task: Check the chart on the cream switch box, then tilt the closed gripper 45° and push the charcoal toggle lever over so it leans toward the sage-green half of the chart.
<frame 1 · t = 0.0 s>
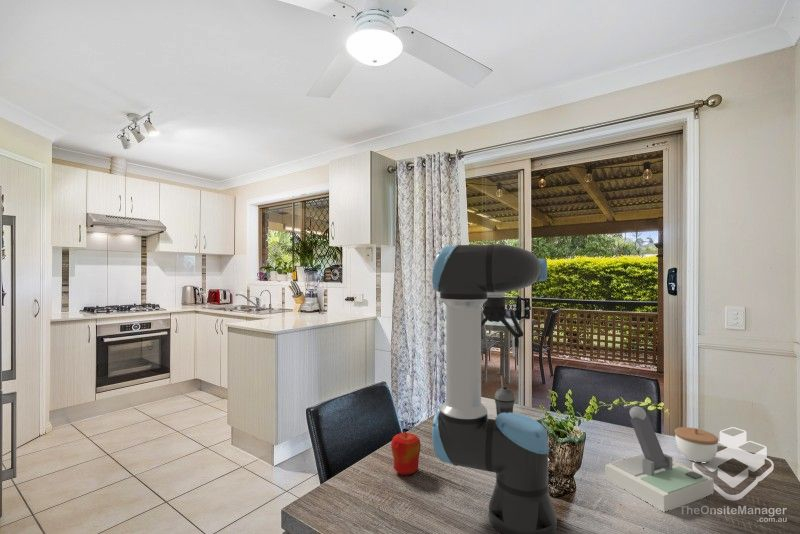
hand: (494, 354, 140), 28 cm above the table, tool pointing down, fingers open, 13 cm apart
beverage cup: (504, 431, 140), on the table
apple: (405, 472, 111), on the table
toggle lever: (646, 436, 106), point 12 cm above the table, hinge at -25.0°
switch box: (657, 486, 103), on the table
lidded jar: (696, 459, 119), on the table
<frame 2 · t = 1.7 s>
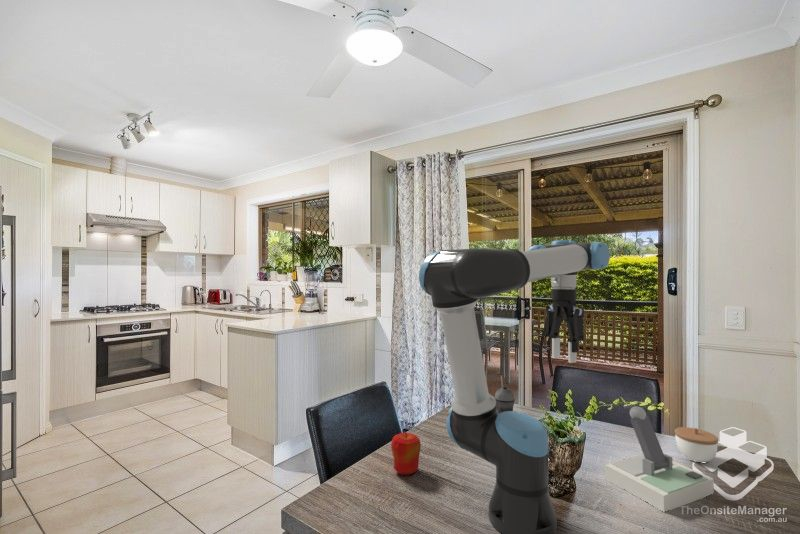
hand: (564, 359, 123), 30 cm above the table, tool pointing down, fingers open, 6 cm apart
nothing on the table moved.
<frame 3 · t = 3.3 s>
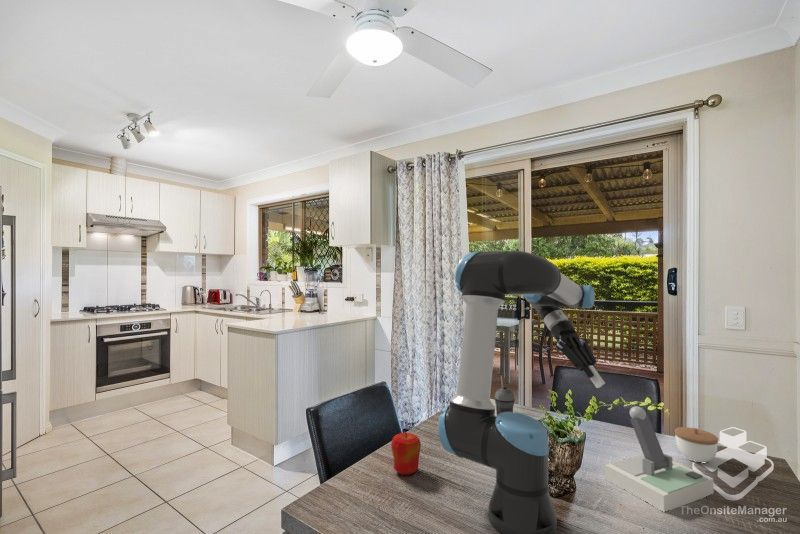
hand: (600, 385, 120), 22 cm above the table, tool tilted 45°, fingers closed
nothing on the table moved.
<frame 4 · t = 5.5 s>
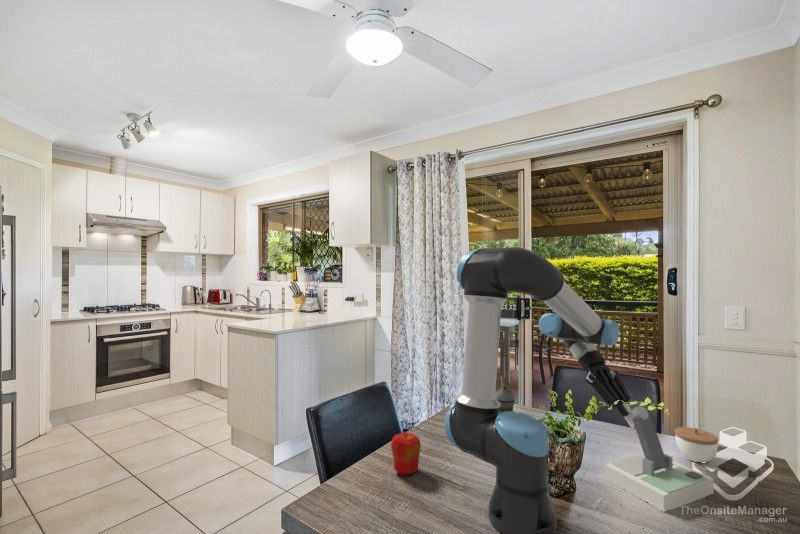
hand: (636, 426, 109), 14 cm above the table, tool tilted 45°, fingers closed
toggle lever: (648, 436, 106), point 12 cm above the table, hinge at -21.6°, touching gripper
everything else where it was.
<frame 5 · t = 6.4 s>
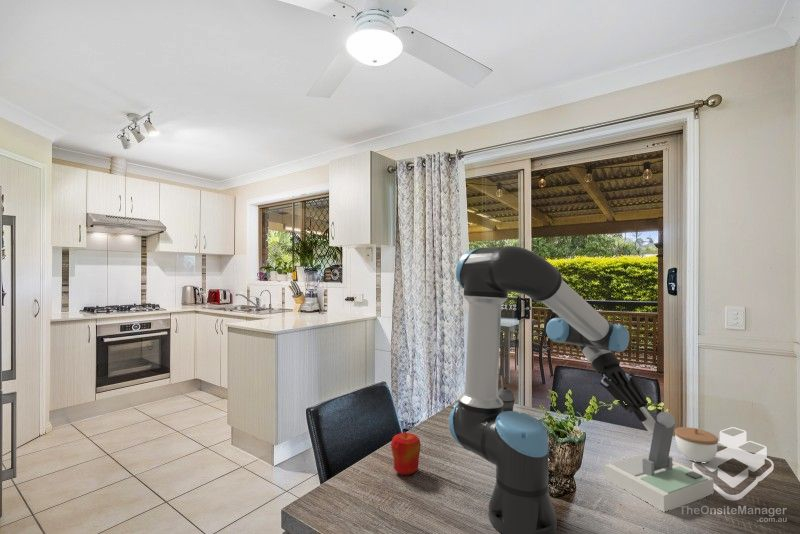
hand: (655, 431, 104), 15 cm above the table, tool tilted 45°, fingers closed
toggle lever: (661, 440, 103), point 13 cm above the table, hinge at 9.9°, touching gripper
everything else where it was.
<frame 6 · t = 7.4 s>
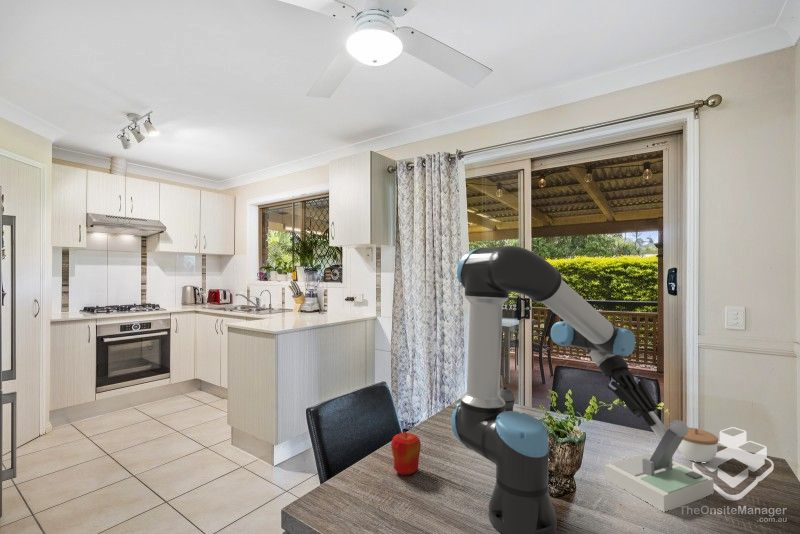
hand: (665, 436, 102), 14 cm above the table, tool tilted 45°, fingers closed
toggle lever: (668, 445, 101), point 12 cm above the table, hinge at 25.2°, touching gripper
everything else where it was.
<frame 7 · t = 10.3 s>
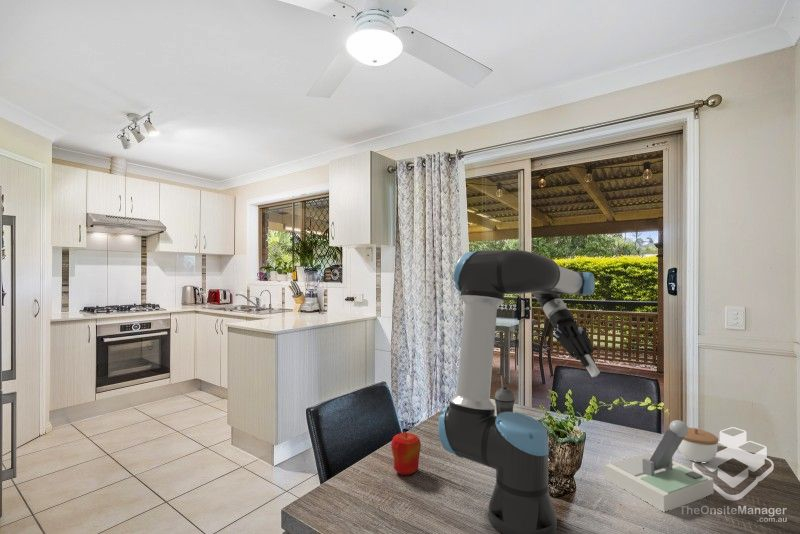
hand: (596, 374, 120), 26 cm above the table, tool tilted 40°, fingers closed
toggle lever: (668, 445, 101), point 12 cm above the table, hinge at 25.4°
everything else where it was.
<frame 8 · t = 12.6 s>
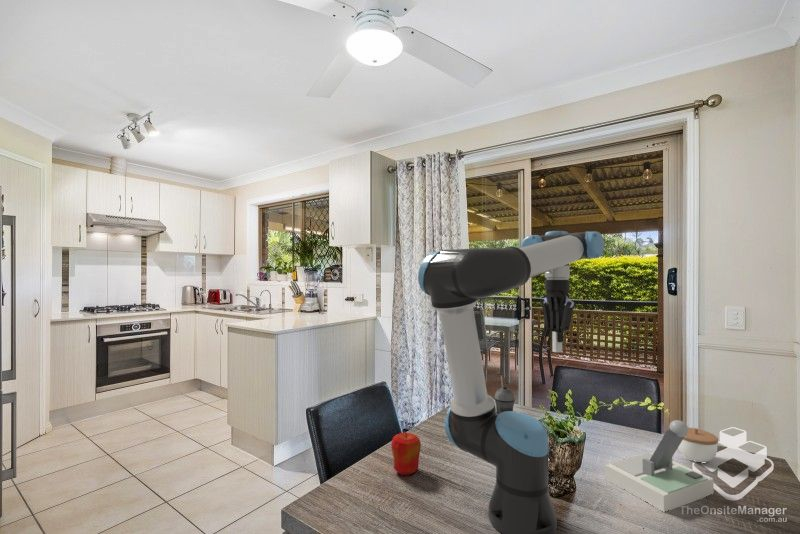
hand: (557, 351, 124), 32 cm above the table, tool pointing down, fingers closed
nothing on the table moved.
at the end: toggle lever at +25° (first picture: -25°); the gripper is holding nothing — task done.
